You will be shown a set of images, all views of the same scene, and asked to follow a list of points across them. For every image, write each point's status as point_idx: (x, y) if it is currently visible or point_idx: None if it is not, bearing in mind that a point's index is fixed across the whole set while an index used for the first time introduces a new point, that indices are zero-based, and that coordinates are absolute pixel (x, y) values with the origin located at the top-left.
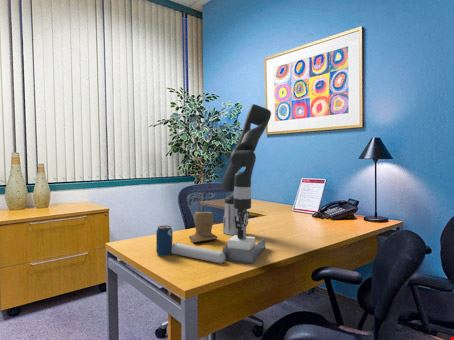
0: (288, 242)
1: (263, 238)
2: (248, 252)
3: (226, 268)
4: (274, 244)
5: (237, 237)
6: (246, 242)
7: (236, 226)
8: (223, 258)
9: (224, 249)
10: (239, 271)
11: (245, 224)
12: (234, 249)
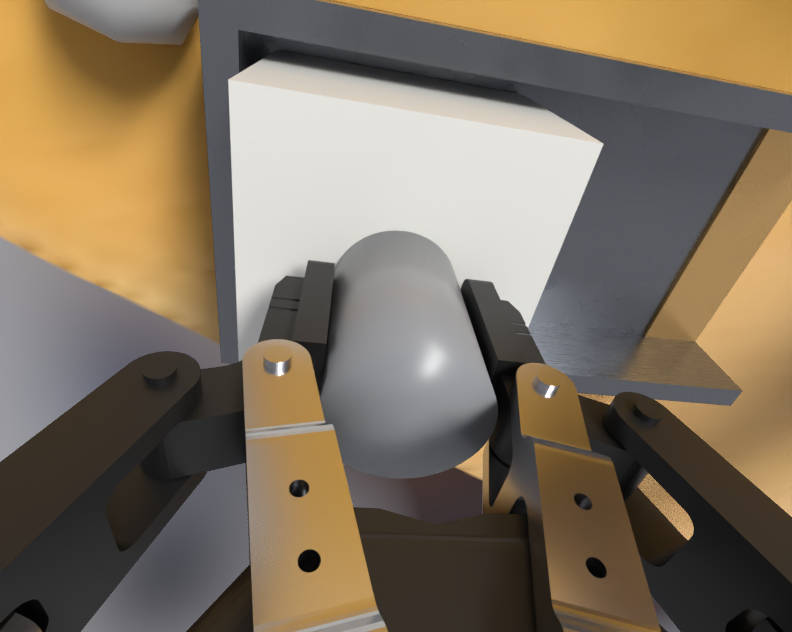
0: (783, 455)
1: (700, 394)
2: (223, 321)
3: (14, 92)
4: (757, 389)
5: (440, 222)
6: (240, 357)
7: (91, 415)
8: (93, 29)
9: (203, 16)
10: (25, 225)
11: (484, 486)
12: (217, 178)
